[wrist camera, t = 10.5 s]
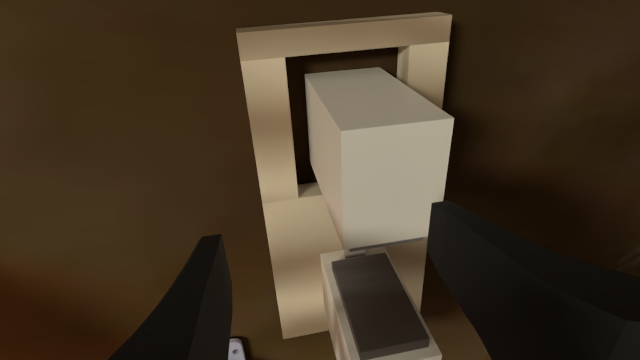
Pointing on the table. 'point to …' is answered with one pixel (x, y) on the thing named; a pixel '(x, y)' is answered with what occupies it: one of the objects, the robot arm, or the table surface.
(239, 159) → the table surface
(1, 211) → the table surface
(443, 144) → the off-white rectangular block
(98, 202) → the table surface
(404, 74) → the beige piece
